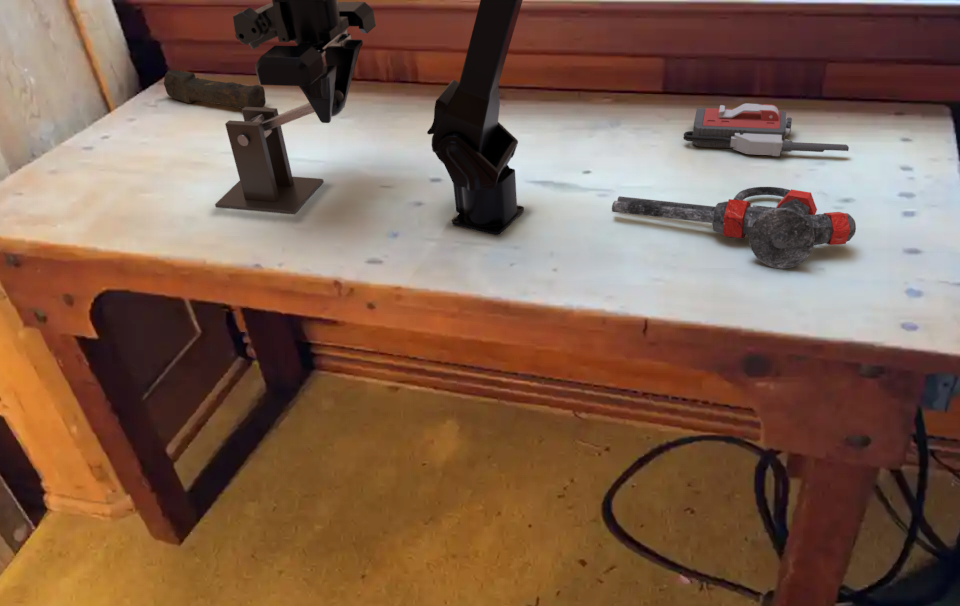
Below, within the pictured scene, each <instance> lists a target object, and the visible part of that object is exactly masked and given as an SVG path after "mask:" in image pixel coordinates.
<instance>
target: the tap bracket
mask: <svg viewBox="0 0 960 606" xmlns="http://www.w3.org/2000/svg"><path fill="white" fill-rule="evenodd" d="M241 114H242V117H243V120H233V119H232V120H230V119H229V120H227V121H226V122H225V123H224V126H225V129H226V133H227V136H228V140H229V144H230V147H231V151H232V156H233V159H234V163H235V168H236V171H237V174H238V178H239V180H238V182H236V183H235V184H234V185H233V186H232V187H231V189H229V190H228V191H227V192H226V193H225V194H224V195H223V196H222V197H220V199H219V200H218V201H216V203H215V204H214V206H215V208H218V209H219V208H220V209H231V210H239V211H240V210H242V211H251V212H262V213H272V214H273V213H274V214H283V215H284V214H285V215H295V214H296V213H297V212H298V211H299V210H300V209H301V208H302V207H303V206H304V205H305V204H306V202H307V201H308V200H309V199H310V198H311V197H312V196H313V194H314V193H315V192H316V191H317V190H318V189H319V188H320V187H321V186H322V185H323V183H324V179H323V178H316V177H304V176H293V174H292V170H291V169H292V168H291V164H290V160H289V155H288V152H287V146H286V142H285V138H284V133H283V129H282V125H280V126H278V127H275V128H273V129H271V130H272V133H271V134H269V135H268V136H267V137H266V138H265V135H264V130H263V126H262V122H248V121H246V120H249V119H251V118H253V117H256V116H258V115H261V114H263V116H264V118H265V120H267V119H270V118H272V117H275V116H277V115H279V110H278V108H276V107H263V108H260V107H244V108H243V109H242V108H241Z"/></svg>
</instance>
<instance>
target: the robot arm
mask: <svg viewBox="0 0 960 606" xmlns="http://www.w3.org/2000/svg"><path fill="white" fill-rule="evenodd" d="M522 4H523V0H479V5H478V8H477V11H476V16H475V21H474V24H473V27H472V32H471V36H470V39H469V42H468V43H469V44H468V47H467V51H466V54H465V59H464V63H463V67H462V71H461V75H460V79H459V81H457V80H455V79H452V80H451V81H450V82H449V84H447V86H446V87H445V89H444V90H443V91H442V92H441V94H440V95H439V96H438V97H437V99H435V103H434V108H433V109H434V110H433V111H434V112H433V121H432V124H431V126H430V127H429V129H428V130H427V132H426V134H427V135H432V137H431V150H432V152H433V153H435V155H436V157H437V159H438V160H439V161H440V162H441V163H442V164H443V165H444V167H445V169H446V171H447V174H448V176H449V178H450V180H451V182H452V184H453V186H452V187H453V194H454V195H453V196H454V205H455V212H456V213H457V215H456V216H455V217H453V218H452V219H451V224H452V225H453V226H456V227H460V228H464V229H467V230H472V231H476V232H480V233H483V234H488V235H492V236H499V235H501V234H502V233H504V231H506V230H507V229H508V228H509V227H510V226H511V225H512V224H513V223H514V222H515V221H516V220H517V219H518V218H520V216H521V215H522V214H523V213H524V212H525V207H524V206H522V205H519V204H518V200H517V199H518V198H517V180H516V169H515V168H511V167H510V166H509V165H508V164H509V163H510V161H511V159H512V158H514V156H515V153H516V150H517V147H518V144H519V140H518V139H517V138H516V137H515V136H514V135H513V134H512V133H510V131H509V130H508V129H507V128H505V127H504V126H503V124H501V123H500V122H499V116H500V107H501V102H500V90H499V85H500V80H501V77H502V73H503V69H504V66H505V63H506V59H507V55H508V52H509V48H510V45H511V41H512V38H513V36H514V32H515V27H516V24H517V21H518V18H519V14H520V11H521V8H522ZM232 21H233V28H234V32H235V33H234V34H235V38H236V40H238V41H239V42H240V43H241V44H243V45H246V46H247V45H249V48H250V49H251V50H256V49H258V48H259V47H260V45H261V44H264V43H266V42H269V41H271V40H273V39H275V38H277V39H278V43H290V42H294V44H295V45H274V46H272V47H271V48H269V50H267V51H266V52H264V53H263V54H262V55H261V56H260V57H259V58H258V60H257V61H256V63H255V64H254V69H255V73H256V77H257V81H258V85H260V86H284V87H285V86H286V87H288V86H289V87H299V89H300V90H301V91H302V93H303V94H304V97H306V99H307V100H308V103H310V104H311V106H312V108H313V109H314V111H315V112H314V113H315V114H316V117H317V118H318V120H319V121H320V122H321V124H330V123H331V122H332V110H333V99H334V89H335V86H336V87H338V88H339V89H340V90H341V91H342V93H343V95H344V99H345V104H344V108H345V107H346V103H347V99H348V95H349V91H350V87H351V83H352V79H353V76H354V71H355V68H356V65H357V61H358V58H359V55H360V50H361V48H362V46H363V43H364V41H363V39H357V38H356V39H353V38H352V36H351V35H352V34H351V33H348V28H349V27H358V30H359V31H360V32H361V33H362V34H369V33H370V32H371V31H372V30H373V29H374V28H375V27H376V26H377V25H376V19H375V12H374V9H373V8H372V7H371V6H370V5H368V3H367V2H366V1H338V0H271V2H269V3H267V4H265V5H263V6H261V7H259V8H256V9H255V10H254V9H253V8H252V7H249V6H248V7H247V8H245V9H244V10H240V11H238V12H237V13H235V14H234V15H232Z"/></svg>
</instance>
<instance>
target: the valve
mask: <svg viewBox="0 0 960 606" xmlns="http://www.w3.org/2000/svg"><path fill="white" fill-rule="evenodd" d="M756 196H775V197H780V198H781V197H782V198H781V199H780V201H779V202H778V203H777V205H776V207H775V206H765V205H756V204H754V205H752V206H751V202H750V201H748V200H745V199H748V198H750V197H756ZM817 211H818V208H817V206H816V202H815V200H814V197H813V195H812V192H809V191H803V190H798V189H787V188H783V187H778V186H777V187H776V186H756V187H750V188H749V187H748V188H746V189H742V190H740V191H739V192H738V193H737V194H736V195H735V196H734V197H733V199H731V198H729V199H728V201H723V202H717V204H716V205H715V206H713V205H703V204H695V203H685V202H676V201H675V202H674V201H665V200H657V199H647V198H640V197H638V198H637V197H629V196H621V195H619V196H618V197H617V200H613V202H612V205H611V212H612V213H618V214H626V215H627V214H628V215H637V216H645V217H654V218H662V219H671V220H672V219H673V220H679V221H680V220H681V221H687V222H699V223H705V224H706V223H708V224H712V230H713V232H715V233H717V234H720V235H722V236H723V237H725V238H731V239H741V240H745V239H746V236H747V237H749V239H748V241H749V247H750V250H751V251H752V253H753V255H754V256H755V257H756V258H757V259H758V261H760V262H761V263H763V264H765V265H767V266H769V267H771V268H775V269H789V268H793V267H794V268H795V267H796V266H798V265H800V264H802V263H803V262H804V261H805V260H807V258H808V257H809V256H810V254H812V251H813V248H814V246H819V245H820V246H821V245H824V244H826V245H828V246H837V245H846V243H847V242H850V241H851V239H852V238H853V237H854V236H855V234H856V232H857V231H856V229H857V228H856V227H857V225H856V220H855V219H854V217H853V216H852V215H851V214H849V213H847V212H841V211H832V212H831V211H830V212H823V213H817ZM816 213H817V214H816Z"/></svg>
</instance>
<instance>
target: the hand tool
mask: <svg viewBox="0 0 960 606" xmlns="http://www.w3.org/2000/svg"><path fill="white" fill-rule="evenodd" d="M163 78H164V79H163V81H164V82H163V87H164V88H165V92H166V94H167V95H168V97H170V98H172V99H174V100H177V101H181V102H184V103H187V104H194V103H196V102H204V103H208V104H217V105H222V106H226V107H233V108H237V109H241V110H242V109H243V108H244V107H260V108H265V107H266V102H267V101H266V91H265V88H264V87H263V85H260V84H253V85H246V84H241V83H236V82H233V81H232V82H231V81H230V82H224V81H217V80H210V79H206V78H200V77H196V74H195V72H191V71H188V72H187V71H184V70H182V71H181V70H178V69H177V70H175V69H174V70H172V69H170V70H169V69H168V70H167V72H165V74H164V77H163Z"/></svg>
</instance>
